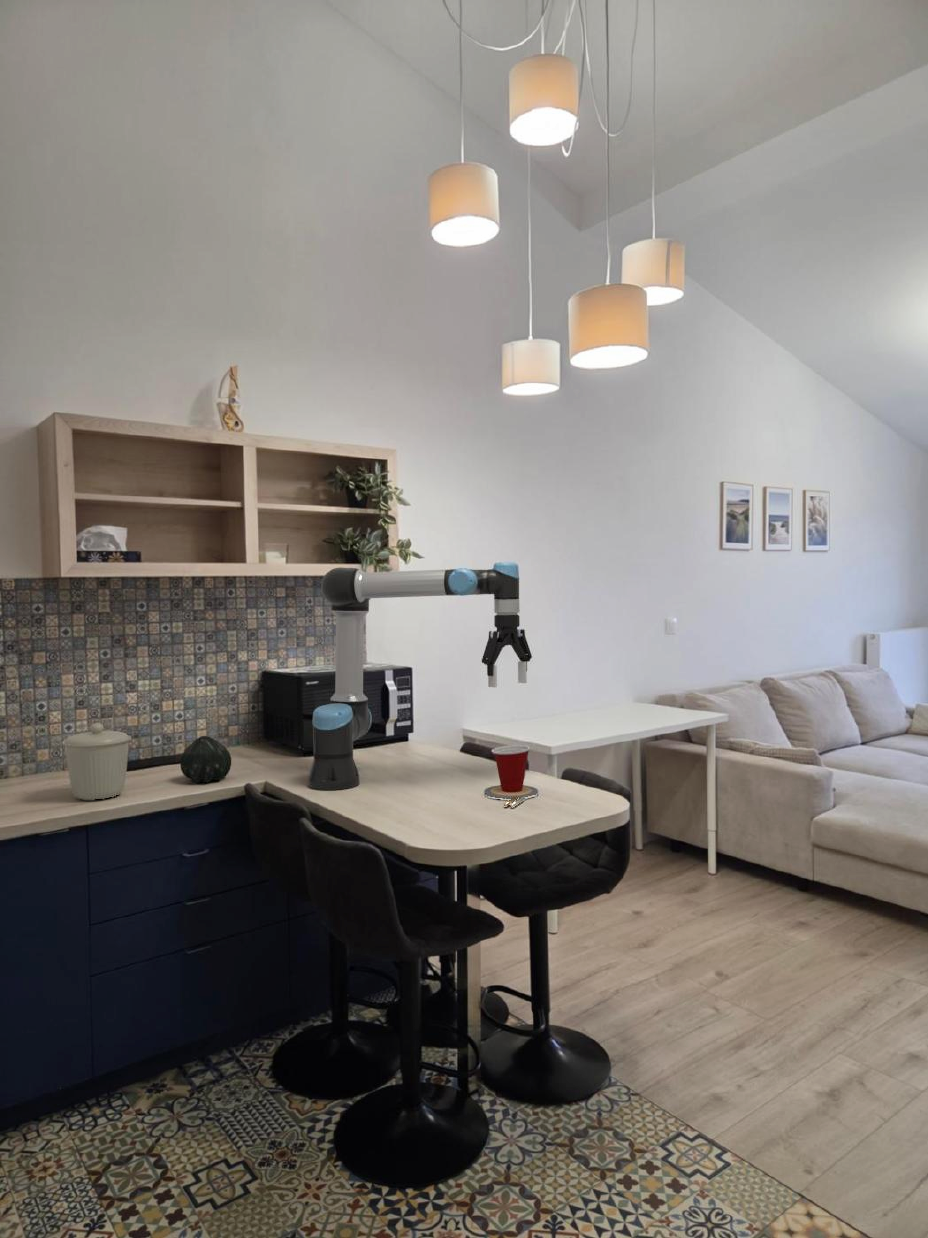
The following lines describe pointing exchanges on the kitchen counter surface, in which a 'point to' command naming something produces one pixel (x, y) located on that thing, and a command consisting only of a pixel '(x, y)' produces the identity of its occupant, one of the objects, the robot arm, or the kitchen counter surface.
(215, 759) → the squash
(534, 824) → the kitchen counter surface
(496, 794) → the coaster
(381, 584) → the robot arm
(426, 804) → the kitchen counter surface
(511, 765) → the plastic cup
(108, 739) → the canister
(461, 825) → the kitchen counter surface
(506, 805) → the wire stubs
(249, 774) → the kitchen counter surface
